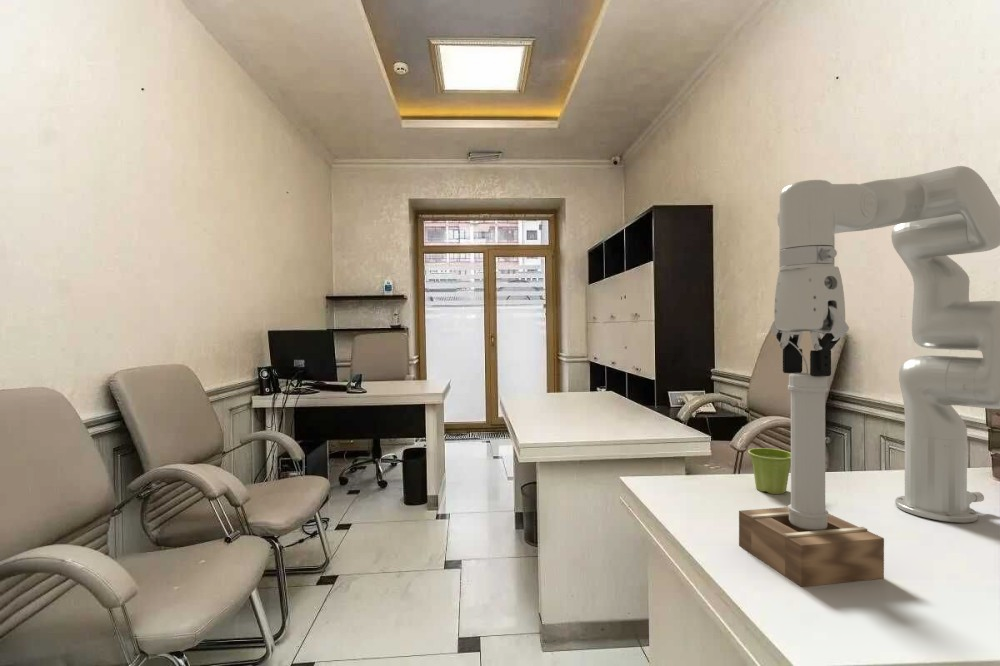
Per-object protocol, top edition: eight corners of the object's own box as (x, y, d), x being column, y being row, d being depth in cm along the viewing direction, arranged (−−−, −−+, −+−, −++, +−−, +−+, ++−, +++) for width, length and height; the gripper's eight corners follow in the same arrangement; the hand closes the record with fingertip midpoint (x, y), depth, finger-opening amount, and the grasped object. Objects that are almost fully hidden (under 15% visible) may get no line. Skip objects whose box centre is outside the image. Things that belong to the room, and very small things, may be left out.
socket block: (810, 539, 88) (810, 503, 88) (883, 578, 74) (883, 536, 74) (739, 545, 86) (738, 508, 86) (801, 586, 72) (801, 543, 72)
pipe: (834, 533, 77) (834, 338, 77) (790, 529, 78) (790, 338, 78) (819, 519, 82) (819, 337, 82) (778, 516, 83) (777, 337, 83)
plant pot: (803, 497, 110) (803, 458, 110) (760, 497, 110) (760, 458, 110) (780, 484, 119) (780, 447, 119) (740, 484, 120) (740, 448, 120)
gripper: (875, 253, 72) (874, 379, 72) (787, 267, 89) (787, 369, 89) (829, 252, 71) (829, 380, 71) (749, 267, 87) (749, 370, 88)
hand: (806, 373), depth 80 cm, fingers closed on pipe, 5 cm apart
